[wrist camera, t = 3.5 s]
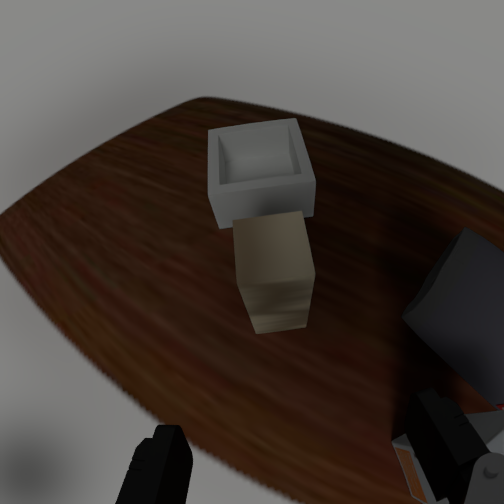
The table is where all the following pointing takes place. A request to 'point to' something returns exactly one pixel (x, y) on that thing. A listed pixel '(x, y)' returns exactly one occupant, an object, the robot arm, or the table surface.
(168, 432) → the robot arm
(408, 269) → the table surface
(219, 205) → the socket stand
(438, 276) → the bluetooth speaker
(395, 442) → the skincare box
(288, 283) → the birch peg
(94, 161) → the table surface
